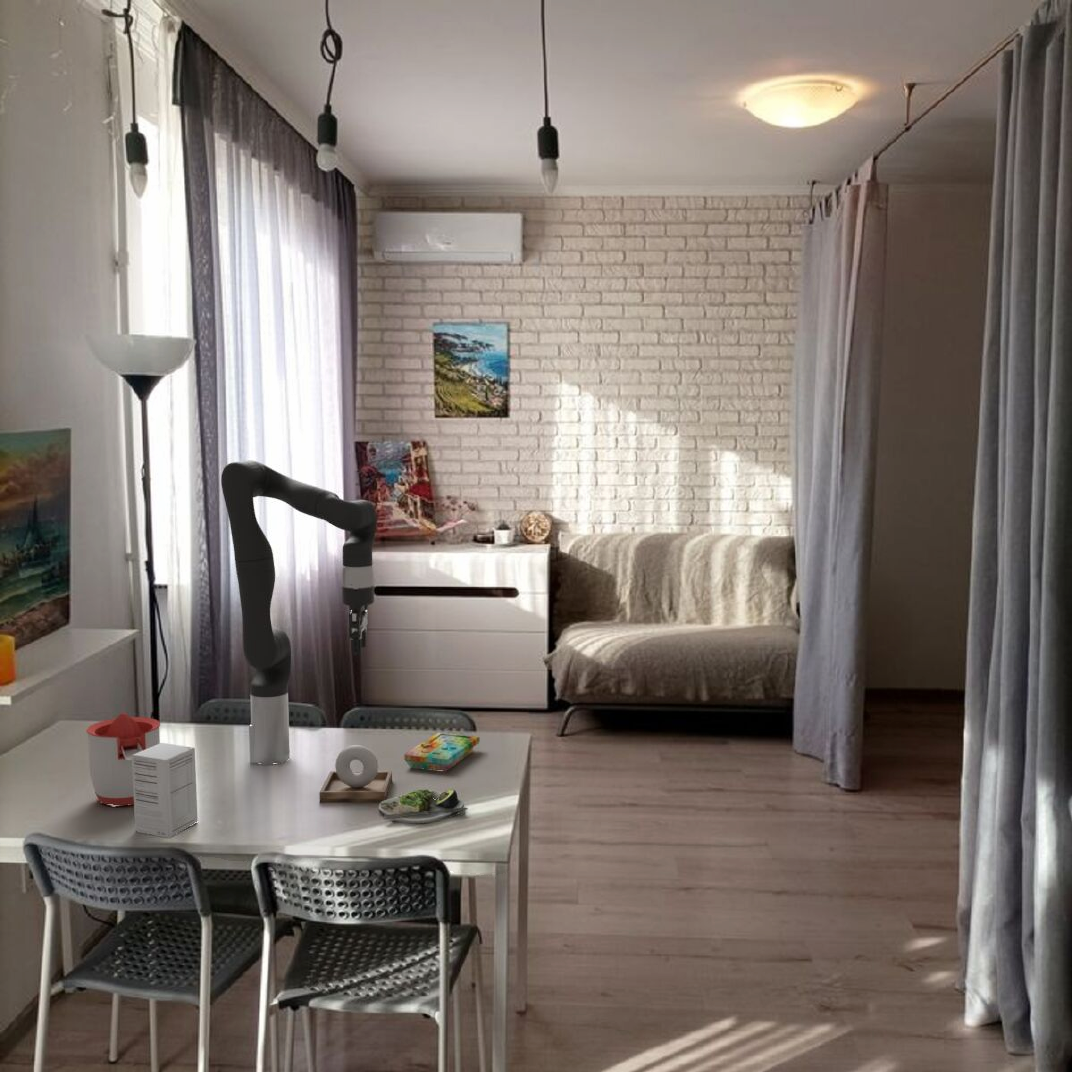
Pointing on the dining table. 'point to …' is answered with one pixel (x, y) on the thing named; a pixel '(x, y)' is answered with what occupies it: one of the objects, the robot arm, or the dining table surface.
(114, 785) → the citrus juicer
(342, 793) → the display tray
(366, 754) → the white ring
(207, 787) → the dining table surface
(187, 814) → the supplement box
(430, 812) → the salad plate
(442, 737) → the puzzle game
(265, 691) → the robot arm
